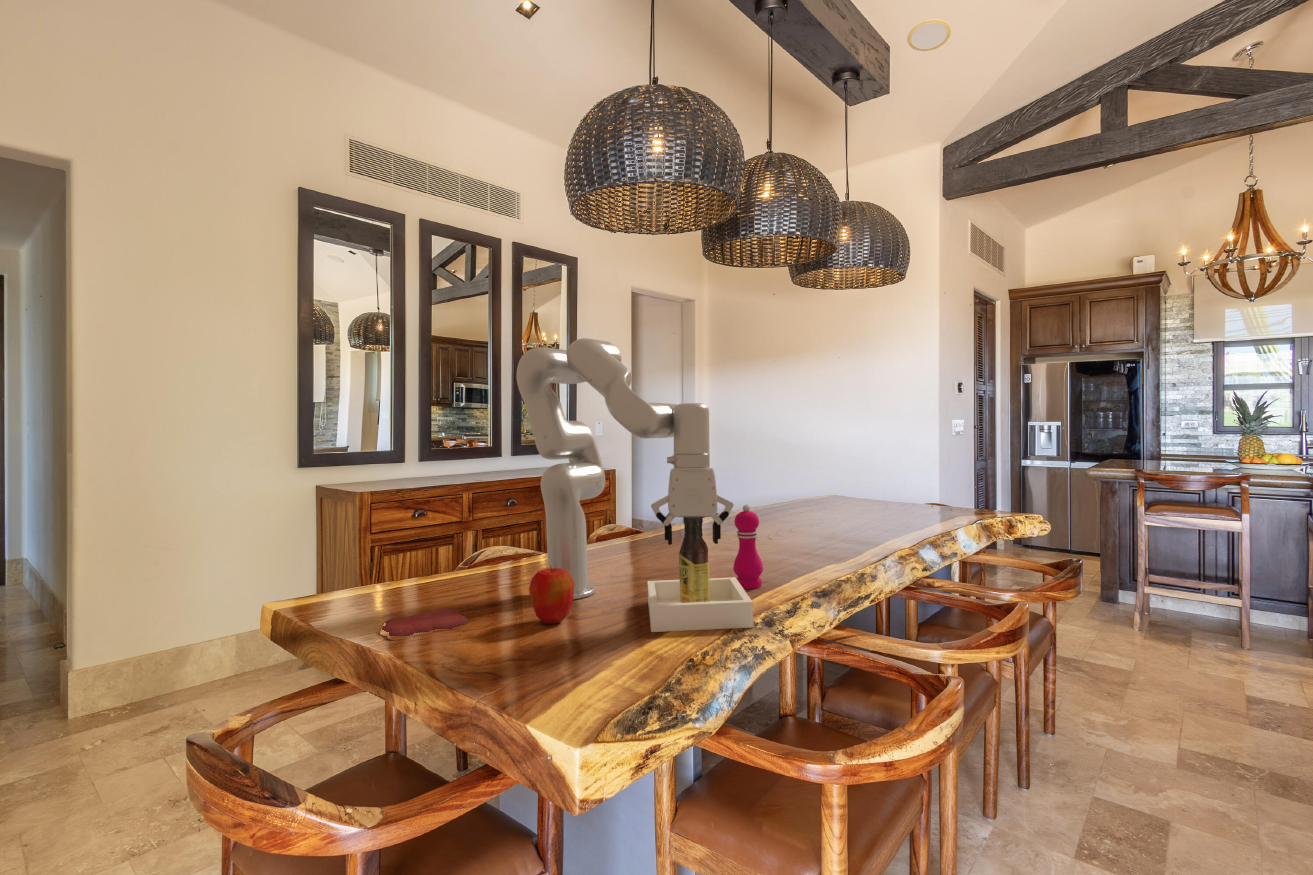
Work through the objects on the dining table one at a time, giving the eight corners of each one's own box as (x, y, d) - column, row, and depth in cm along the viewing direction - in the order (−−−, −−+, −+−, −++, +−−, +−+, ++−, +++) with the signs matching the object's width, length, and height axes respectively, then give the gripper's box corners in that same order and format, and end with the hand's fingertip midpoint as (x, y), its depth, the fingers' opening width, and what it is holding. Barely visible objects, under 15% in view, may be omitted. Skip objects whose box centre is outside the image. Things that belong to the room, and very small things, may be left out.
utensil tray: (651, 632, 120) (650, 606, 120) (648, 603, 140) (647, 581, 140) (753, 627, 121) (752, 601, 121) (736, 599, 141) (735, 577, 141)
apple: (537, 632, 122) (535, 571, 122) (525, 620, 130) (523, 563, 130) (582, 624, 127) (579, 565, 126) (567, 613, 135) (565, 557, 134)
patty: (385, 645, 119) (385, 635, 119) (373, 627, 130) (373, 618, 130) (476, 627, 128) (475, 617, 128) (457, 611, 140) (456, 603, 140)
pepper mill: (762, 582, 156) (760, 502, 155) (764, 589, 148) (762, 506, 148) (733, 582, 156) (731, 503, 156) (734, 589, 149) (731, 507, 149)
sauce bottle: (678, 605, 134) (675, 514, 133) (707, 604, 134) (704, 512, 134) (682, 614, 127) (679, 518, 127) (712, 613, 128) (709, 517, 127)
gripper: (651, 464, 126) (652, 547, 127) (735, 462, 127) (736, 545, 127) (649, 461, 134) (651, 540, 134) (729, 460, 134) (730, 538, 135)
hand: (692, 543), depth 131 cm, fingers open, 9 cm apart
